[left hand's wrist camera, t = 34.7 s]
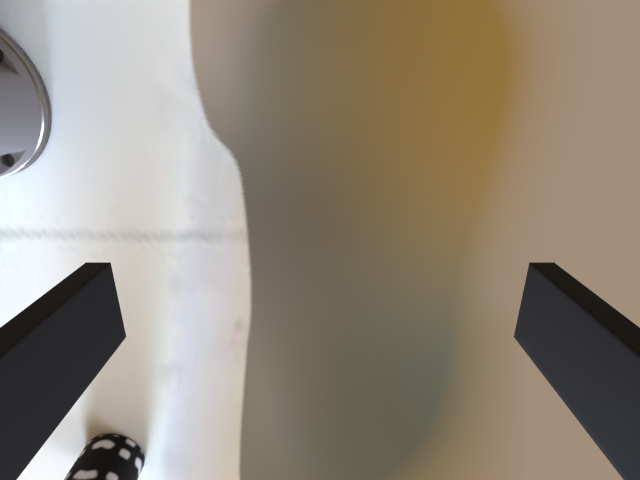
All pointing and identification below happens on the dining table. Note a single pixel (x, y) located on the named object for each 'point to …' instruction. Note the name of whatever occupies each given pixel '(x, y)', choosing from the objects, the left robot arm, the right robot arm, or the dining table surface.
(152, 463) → the dining table surface
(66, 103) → the dining table surface
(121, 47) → the dining table surface
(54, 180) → the dining table surface
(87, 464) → the black white spotted cylinder
